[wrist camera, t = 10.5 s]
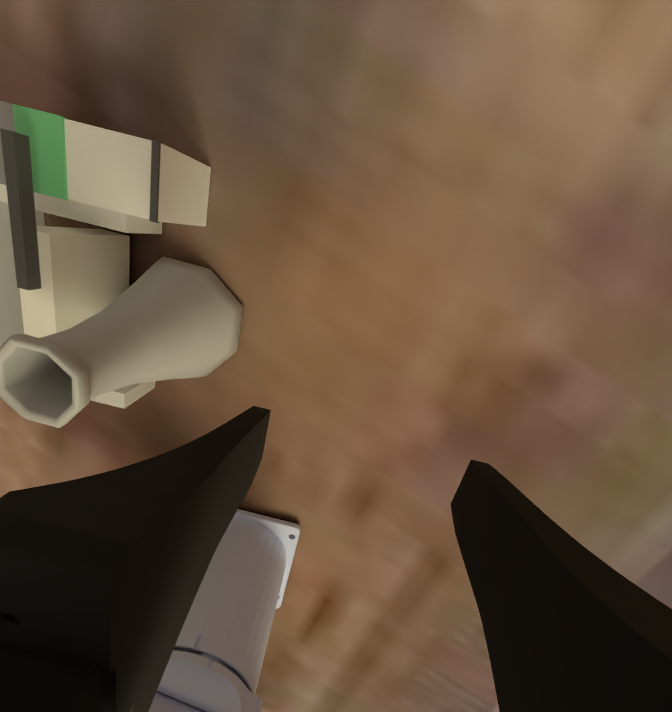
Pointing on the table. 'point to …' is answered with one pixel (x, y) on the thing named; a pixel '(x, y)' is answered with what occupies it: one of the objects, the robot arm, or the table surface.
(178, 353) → the grey vase
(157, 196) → the gauge frame
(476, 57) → the table surface
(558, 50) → the table surface
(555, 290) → the table surface
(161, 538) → the robot arm
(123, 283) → the pad
